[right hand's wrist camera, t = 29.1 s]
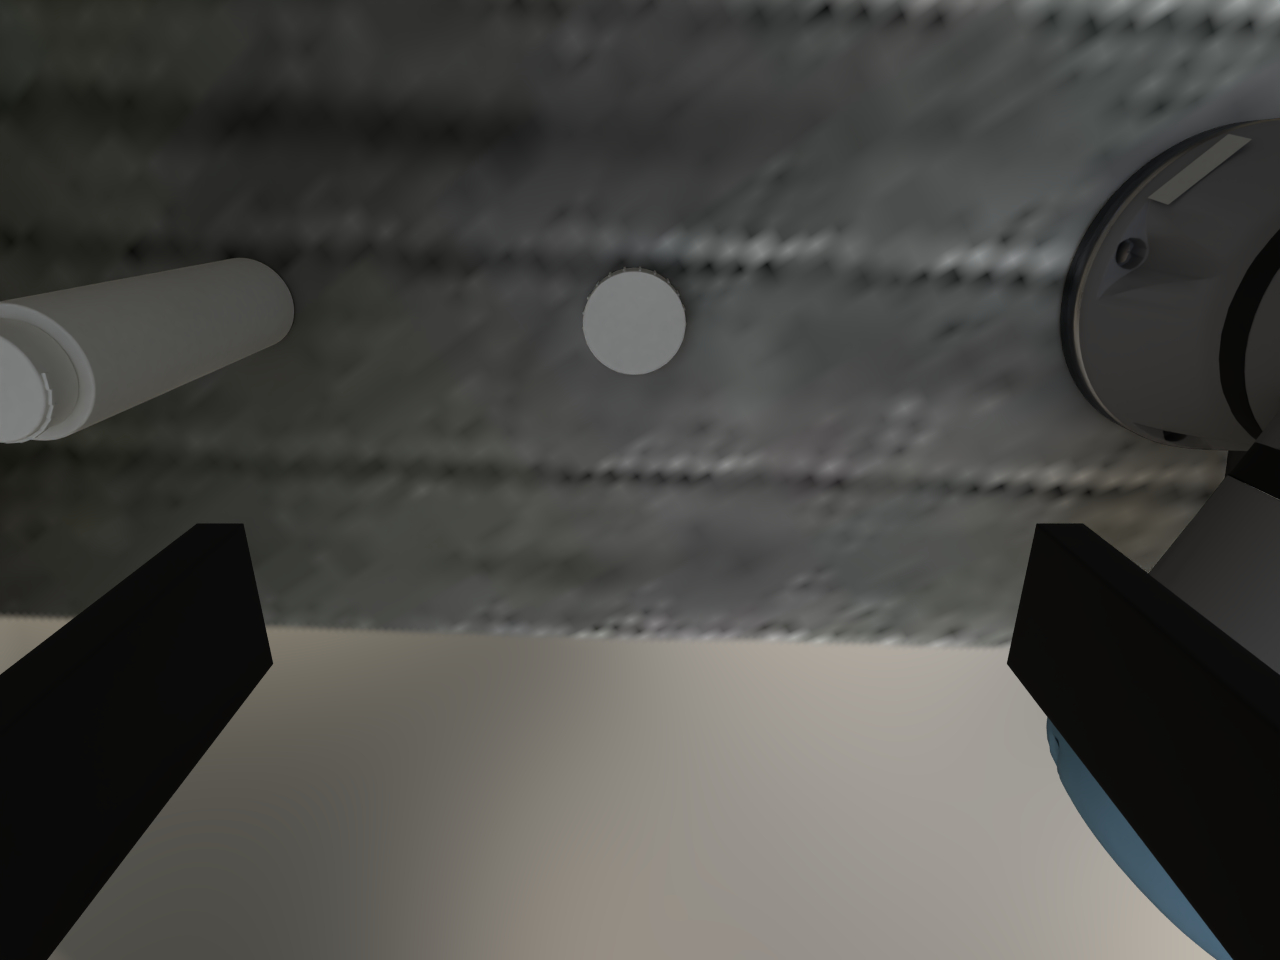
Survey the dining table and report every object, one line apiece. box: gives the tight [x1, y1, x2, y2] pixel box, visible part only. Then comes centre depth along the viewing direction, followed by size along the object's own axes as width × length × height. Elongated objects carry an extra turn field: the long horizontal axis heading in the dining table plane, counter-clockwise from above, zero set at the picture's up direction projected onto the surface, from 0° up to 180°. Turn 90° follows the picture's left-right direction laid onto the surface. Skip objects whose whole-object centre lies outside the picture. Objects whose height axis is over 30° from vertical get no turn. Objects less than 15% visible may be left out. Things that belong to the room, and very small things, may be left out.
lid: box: [582, 266, 687, 375], centre depth 37 cm, size 5×5×2 cm
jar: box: [0, 258, 294, 443], centre depth 30 cm, size 4×4×16 cm
